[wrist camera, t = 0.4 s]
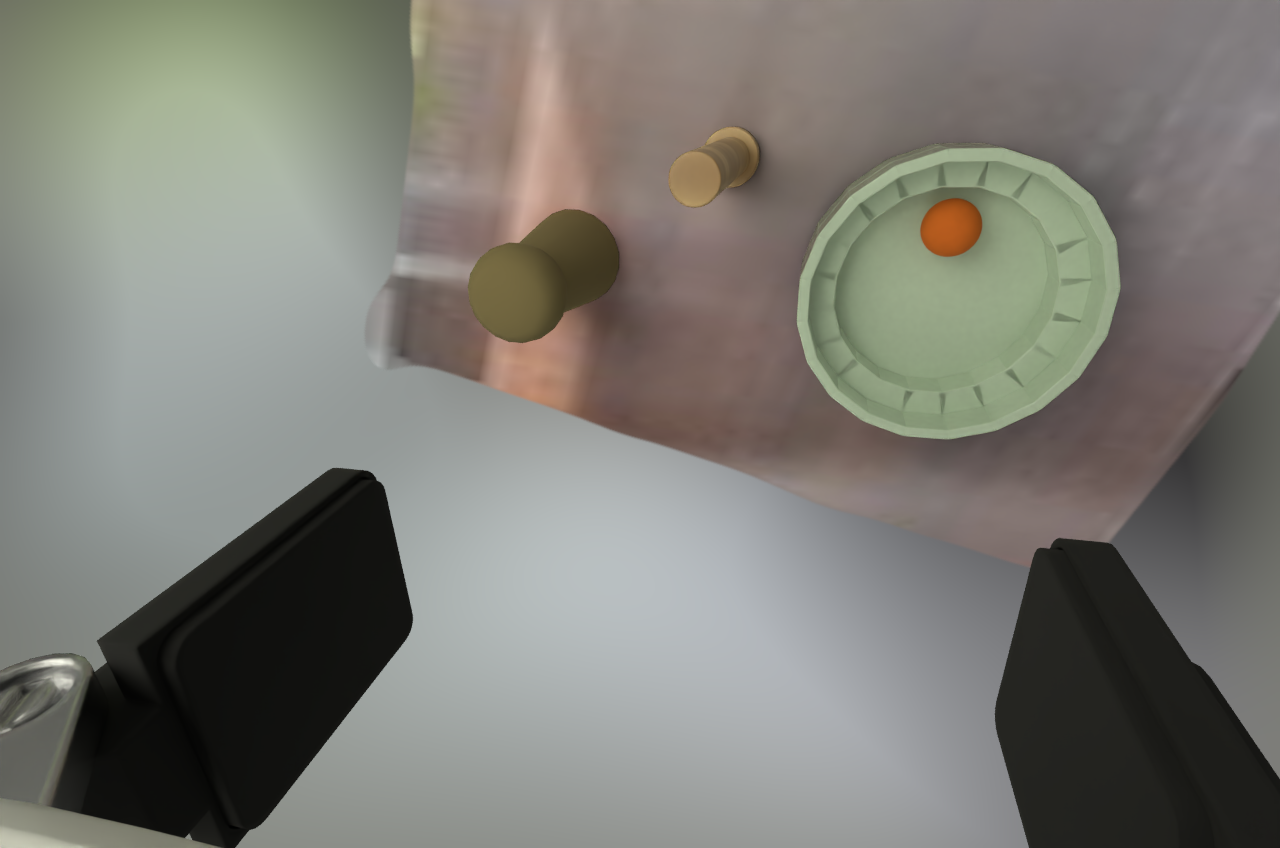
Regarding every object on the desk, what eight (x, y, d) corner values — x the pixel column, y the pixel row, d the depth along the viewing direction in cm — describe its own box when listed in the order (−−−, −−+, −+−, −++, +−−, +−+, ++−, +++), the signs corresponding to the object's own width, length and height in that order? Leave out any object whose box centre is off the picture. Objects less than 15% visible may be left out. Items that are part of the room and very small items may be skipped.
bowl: (810, 144, 38) (809, 150, 33) (1118, 140, 34) (1162, 145, 30) (791, 395, 44) (788, 427, 40) (1048, 412, 41) (1075, 450, 36)
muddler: (704, 127, 39) (655, 137, 27) (761, 125, 38) (735, 136, 26) (703, 185, 40) (656, 219, 29) (758, 186, 39) (732, 220, 28)
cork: (514, 234, 44) (428, 271, 34) (591, 192, 42) (522, 220, 32) (558, 316, 46) (488, 374, 36) (635, 281, 43) (581, 333, 34)
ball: (921, 194, 37) (929, 201, 34) (980, 195, 36) (993, 202, 34) (913, 250, 38) (919, 261, 36) (970, 251, 37) (981, 262, 35)
